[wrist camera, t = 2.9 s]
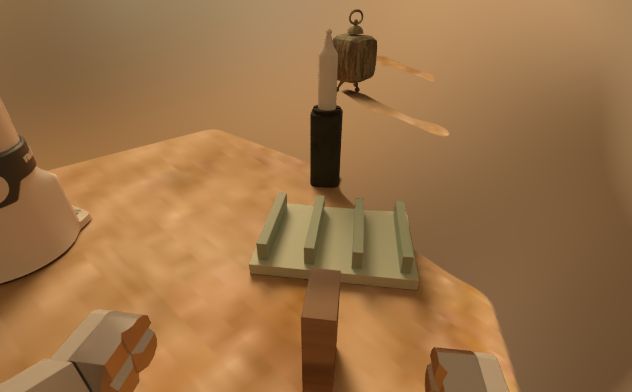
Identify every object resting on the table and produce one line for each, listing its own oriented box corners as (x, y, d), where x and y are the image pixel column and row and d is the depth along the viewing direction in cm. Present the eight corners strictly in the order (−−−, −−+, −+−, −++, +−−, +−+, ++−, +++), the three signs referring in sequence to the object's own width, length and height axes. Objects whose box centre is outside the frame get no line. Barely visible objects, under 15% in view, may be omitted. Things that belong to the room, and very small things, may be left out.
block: (331, 398, 29) (336, 320, 24) (302, 395, 29) (301, 317, 24) (336, 346, 33) (341, 270, 28) (311, 343, 33) (311, 267, 28)
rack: (417, 290, 39) (423, 264, 37) (249, 273, 41) (246, 248, 39) (405, 220, 51) (409, 198, 49) (276, 210, 53) (274, 188, 51)
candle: (312, 173, 64) (313, 27, 51) (339, 174, 64) (346, 27, 51) (309, 186, 60) (309, 30, 47) (338, 187, 60) (346, 31, 47)
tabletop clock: (354, 85, 125) (359, 8, 112) (375, 89, 120) (382, 9, 107) (329, 92, 116) (331, 9, 103) (349, 97, 111) (355, 10, 98)
